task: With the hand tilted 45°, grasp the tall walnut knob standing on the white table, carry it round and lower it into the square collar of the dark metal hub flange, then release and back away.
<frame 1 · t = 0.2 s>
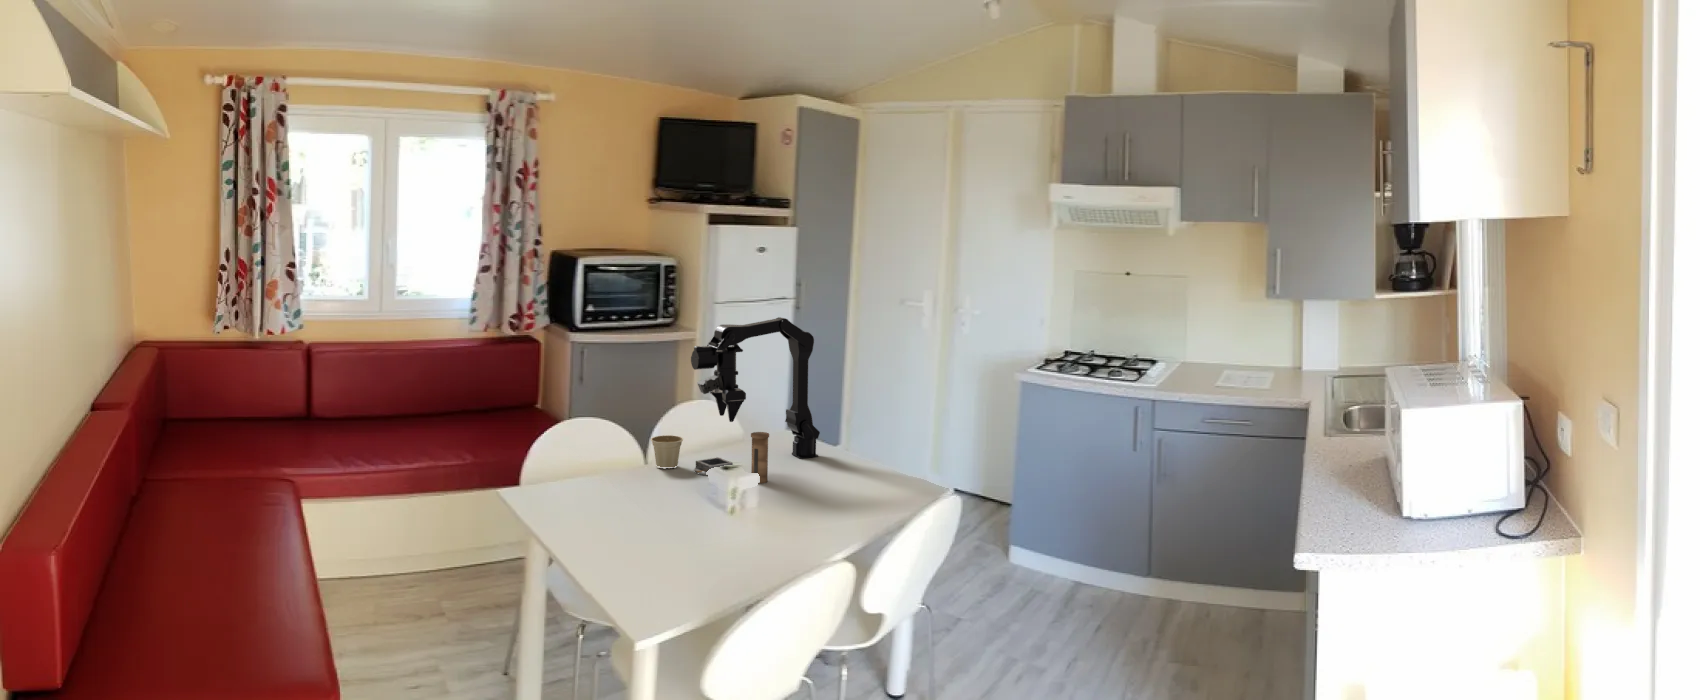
hand: (726, 418, 307), 14 cm above the table, tool pointing down, fingers open, 9 cm apart
flower pot: (667, 467, 305), on the table
knob: (759, 481, 292), on the table
hub: (714, 471, 302), on the table
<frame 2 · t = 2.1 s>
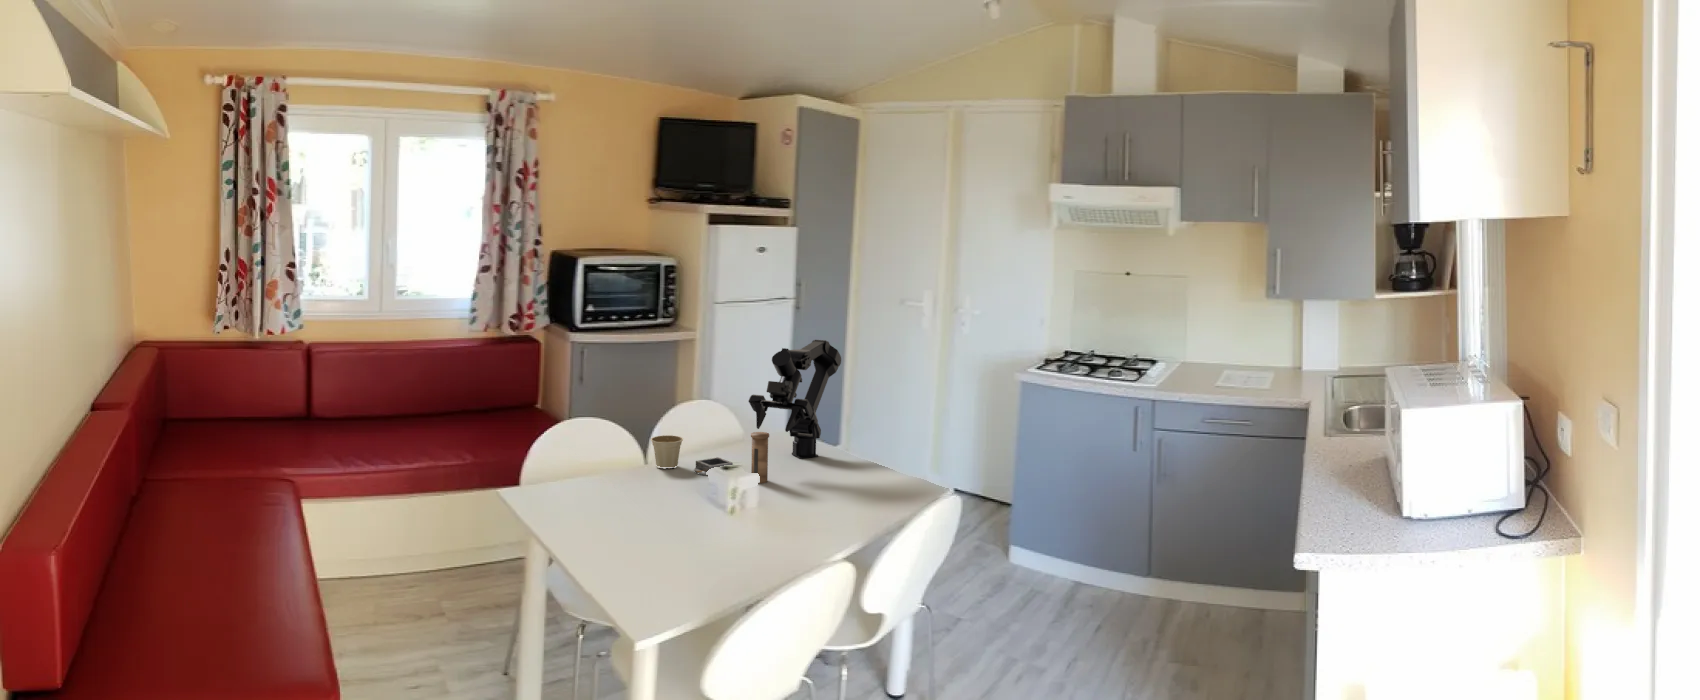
hand: (771, 429, 298), 13 cm above the table, tool tilted 45°, fingers open, 9 cm apart
nothing on the table moved.
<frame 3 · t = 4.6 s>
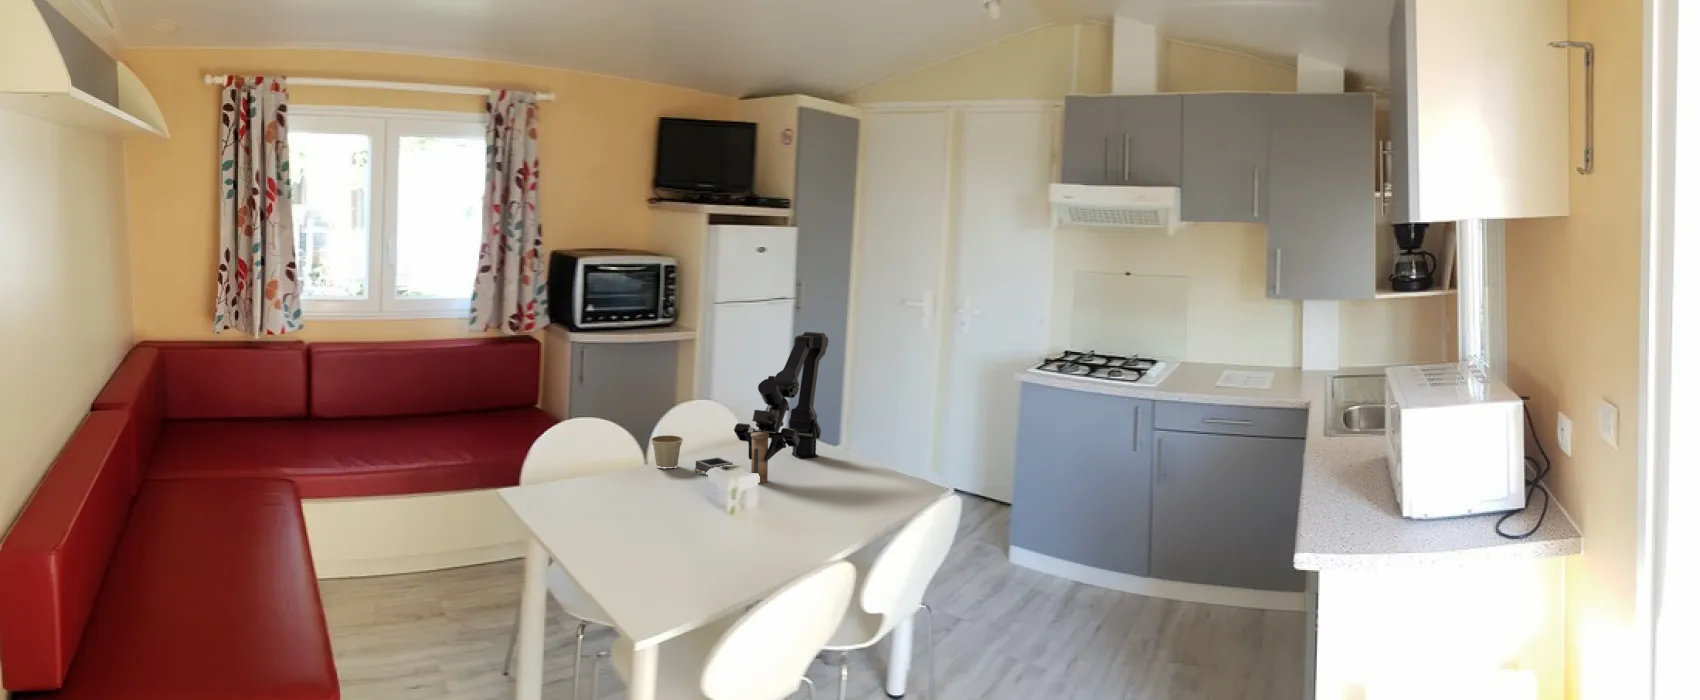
hand: (757, 459, 290), 7 cm above the table, tool tilted 45°, fingers closed on knob, 5 cm apart
knob: (759, 481, 292), on the table, touching gripper
everything else where it was.
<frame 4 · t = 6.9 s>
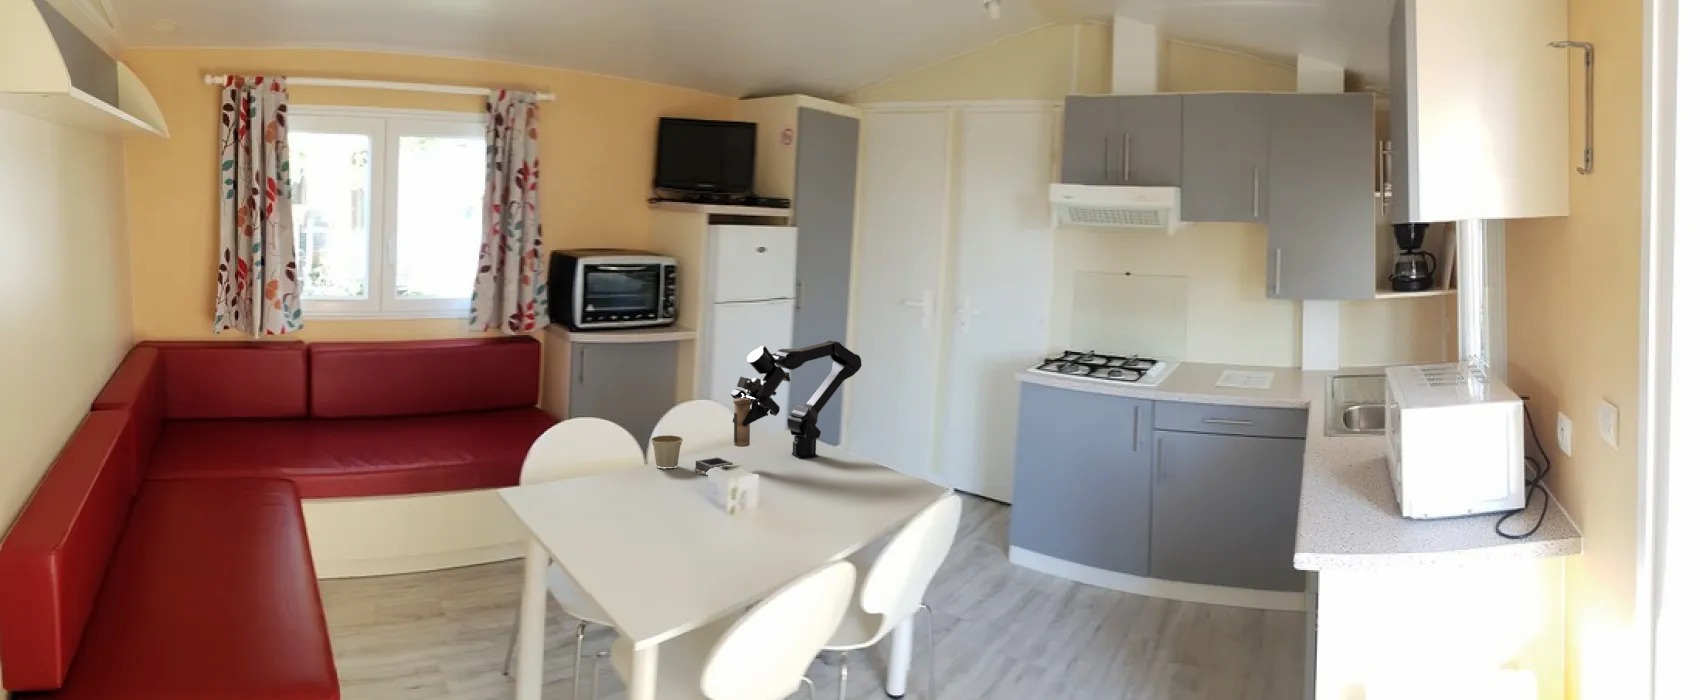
hand: (738, 423, 305), 13 cm above the table, tool tilted 45°, fingers closed on knob, 5 cm apart
knob: (742, 444, 307), point 7 cm above the table, touching gripper
everything else where it was.
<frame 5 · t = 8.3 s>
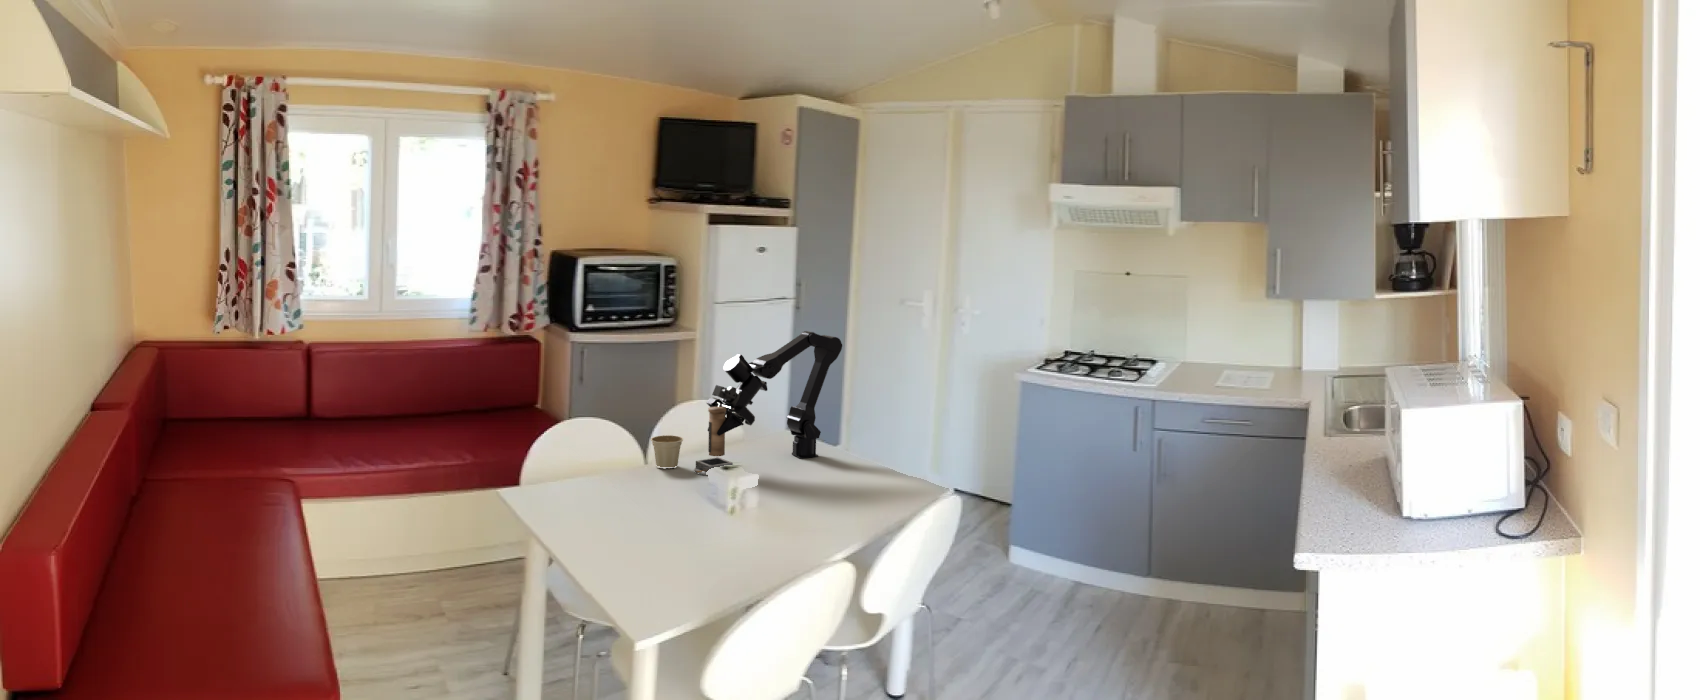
hand: (713, 433, 300), 11 cm above the table, tool tilted 45°, fingers closed on knob, 5 cm apart
knob: (716, 454, 302), point 5 cm above the table, touching gripper
everything else where it was.
when the fingers open (9 cm above the table, at t = 9.4 s): knob drops 1 cm, resting on hub.
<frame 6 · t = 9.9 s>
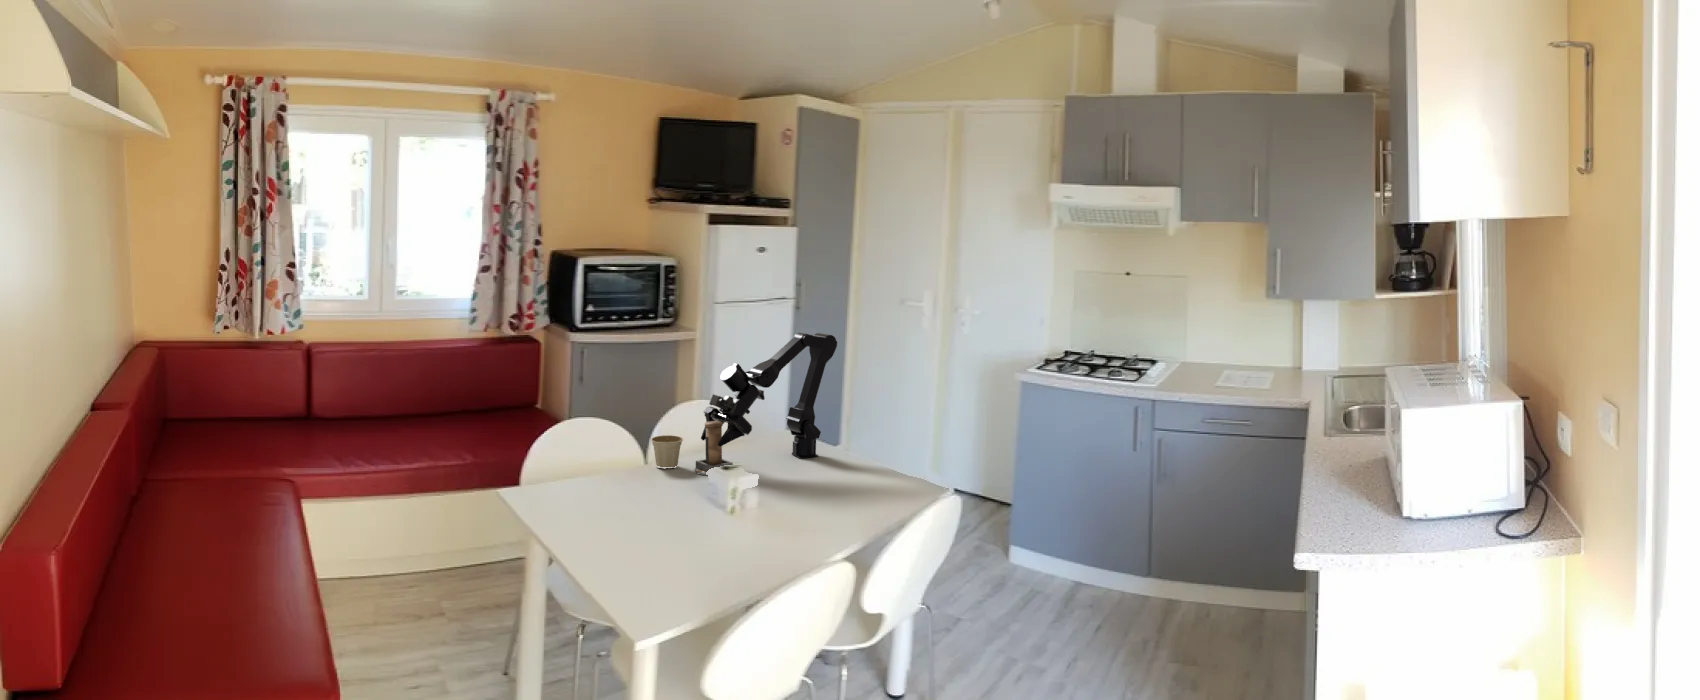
hand: (710, 442, 300), 9 cm above the table, tool tilted 45°, fingers open, 9 cm apart
knob: (714, 468, 302), point 1 cm above the table, touching hub
everything else where it was.
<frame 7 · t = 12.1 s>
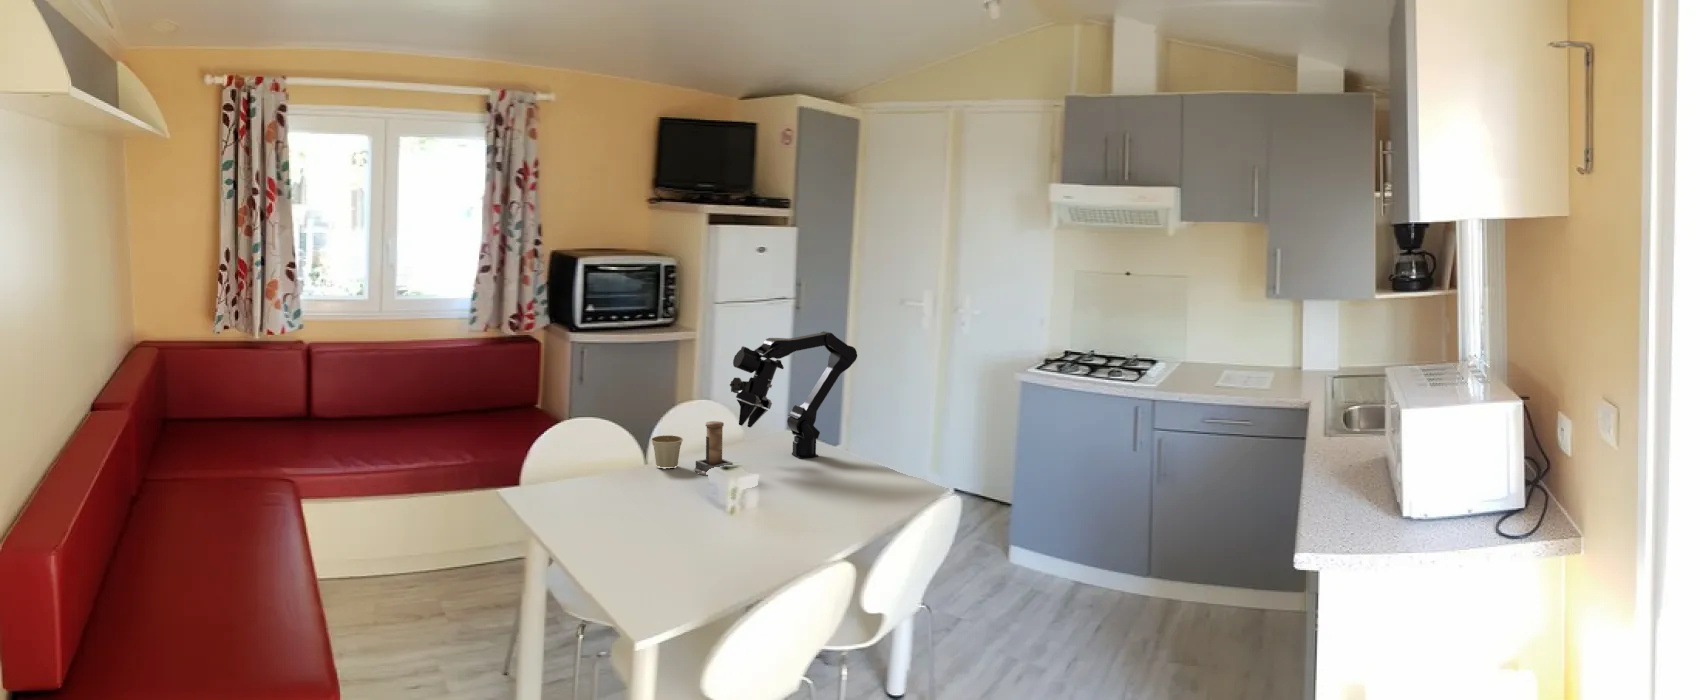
hand: (744, 426, 311), 11 cm above the table, tool tilted 20°, fingers open, 9 cm apart
nothing on the table moved.
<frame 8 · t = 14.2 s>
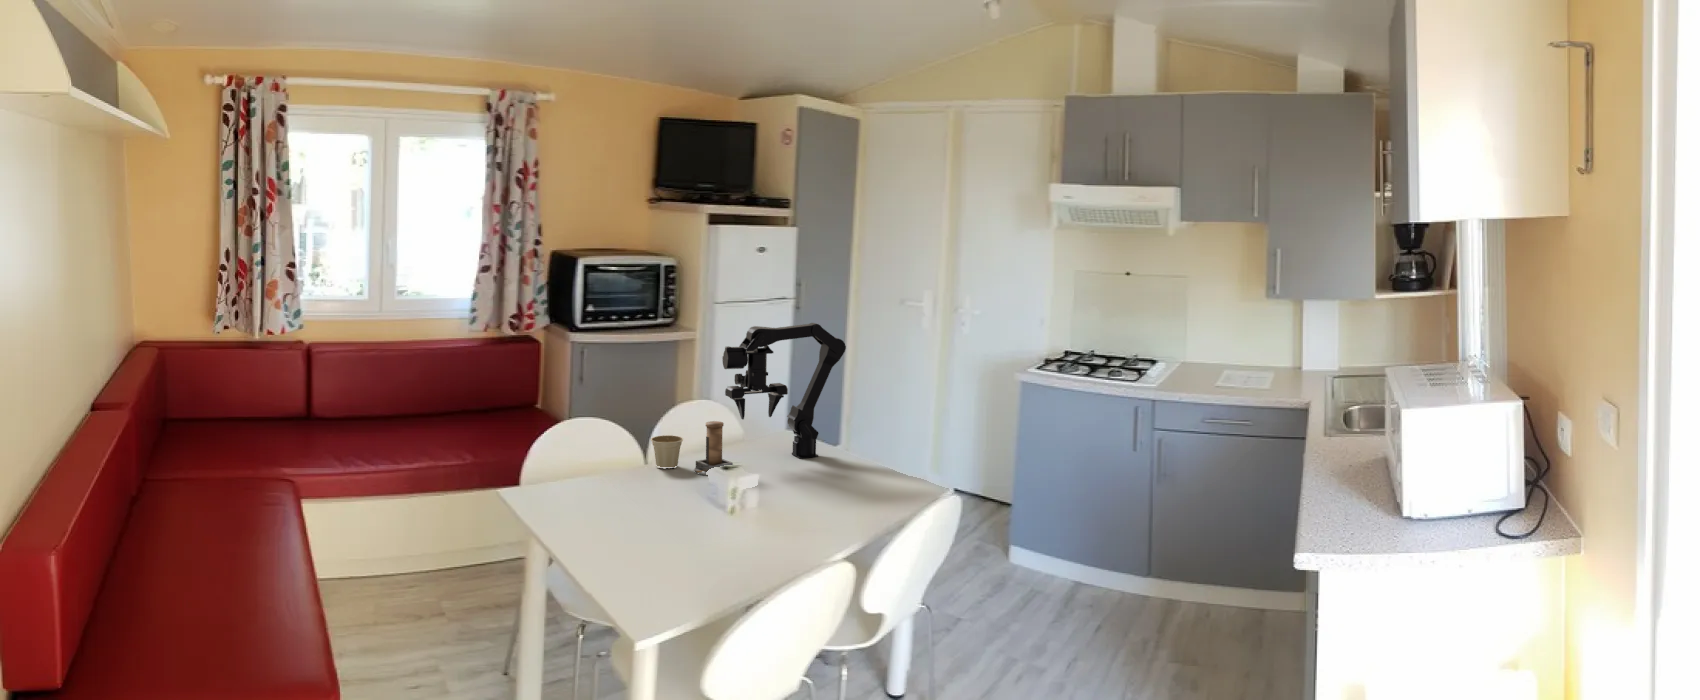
hand: (756, 418, 315), 13 cm above the table, tool pointing down, fingers open, 9 cm apart
nothing on the table moved.
at the end: knob 0.1 cm from the hub (horizontally); knob point 0.6 cm above the table; knob tilted 0° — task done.
